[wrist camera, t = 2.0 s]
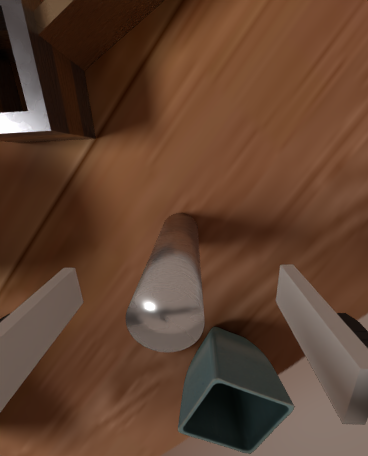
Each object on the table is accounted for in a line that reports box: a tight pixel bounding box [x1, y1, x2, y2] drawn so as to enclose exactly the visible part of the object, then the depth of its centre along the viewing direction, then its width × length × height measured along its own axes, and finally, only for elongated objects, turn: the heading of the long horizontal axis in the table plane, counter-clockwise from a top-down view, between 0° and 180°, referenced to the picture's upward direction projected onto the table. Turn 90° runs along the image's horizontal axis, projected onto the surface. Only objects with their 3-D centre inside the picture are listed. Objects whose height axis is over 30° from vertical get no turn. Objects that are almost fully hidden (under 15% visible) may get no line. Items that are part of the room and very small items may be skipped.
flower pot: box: [178, 327, 294, 454], centre depth 25 cm, size 9×9×9 cm
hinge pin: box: [126, 213, 204, 352], centre depth 17 cm, size 4×4×14 cm
